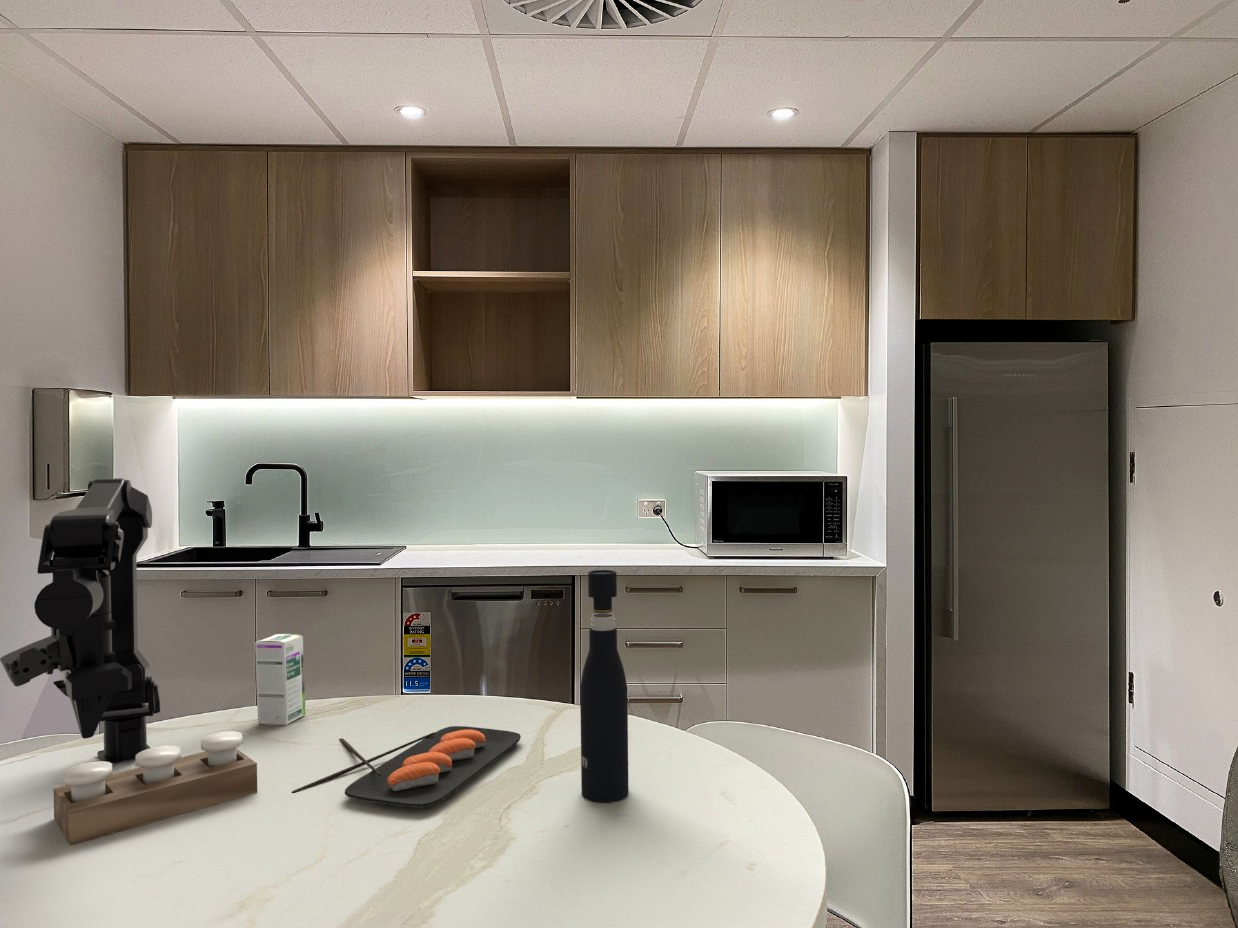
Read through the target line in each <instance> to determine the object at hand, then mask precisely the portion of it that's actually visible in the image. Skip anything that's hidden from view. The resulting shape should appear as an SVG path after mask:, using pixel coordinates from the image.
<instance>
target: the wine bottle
mask: <svg viewBox="0 0 1238 928" xmlns="http://www.w3.org/2000/svg"><path fill="white" fill-rule="evenodd" d="M617 577H618V576H617V571H616V570H611V569H610V570H609V569H597V570H590V571H588V572H587V579H588V580H587V583H588V585H587V586H588V587H587V591H588V593H587V594H588V597H589V598H593V599H592V601H593V602H592V603H593V608H592V612H593V613H592V614H591V618H590V621H591V623H590V626H591V628H589V630H588V636H589V637H588V638H589V645H588V646H589V648H588V649H589V650H588V653H587V655H586V659H585V660H584V661H585V662H584V665H583V669H582V672H581V673H582V674H581V680H580V684H579V685H580V687H579V692H580V693H579V696H580V700H579V701H580V702H579V703H580V705H579V706H580V707H579V708H580V711H579V712H580V767H581V768H580V773H581V774H580V775H581V776H580V778H581V783H580V785H581V796H582V797H583V798H584V799H586V800H588V801H590V802H593V803H602V804H606V803H613V802H614V803H615V802H618V801H621V800H624V799H625V798H627V796H628V795H629V792H630V791H629V723H628V720H629V717H628V712H629V711H628V705H629V704H628V683H627V678H626V674H625V673H626V672H625V669H624V665H623V662H622V659H621V656H620V653H619V651H618V630H617V628H616V627H615V626H616V622H615V621H616V618H615V614H613V613H611V612H613V601H612V600H613V599H612V598H616V597H617V595H618V593H617V591H618V590H617V588H618V585H617V581H618V579H617Z"/></svg>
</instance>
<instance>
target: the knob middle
mask: <svg viewBox="0 0 1238 928" xmlns="http://www.w3.org/2000/svg"><path fill="white" fill-rule="evenodd" d="M180 757H182V756H181V747H179V746H177V745H161V746H154V747H150V749H146V750H144V751H141V752H139V753H138V754H137V755H136V759H135V766H137V768H138V767H143V784H144V785H146V784H150V783H154V782H158V781H162V780H166V779H170V778H173V777H174V762H175V761H177V760H179V759H180Z"/></svg>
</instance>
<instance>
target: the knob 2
mask: <svg viewBox="0 0 1238 928" xmlns="http://www.w3.org/2000/svg"><path fill="white" fill-rule="evenodd" d="M242 744H243V734H242V732H239V731H221V732H215V733H212V734H209V735H205V736H204V737H203V738H201V740H200V749H201V751H202V752H205V751H208V767H209V768H213V767H217V766H221V765H225V764H229V763H232V762H236V761H237V759H236V749H237V748H238V747H239V746H241V745H242Z"/></svg>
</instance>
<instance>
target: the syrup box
mask: <svg viewBox="0 0 1238 928" xmlns="http://www.w3.org/2000/svg"><path fill="white" fill-rule="evenodd" d="M254 647H255V649H254V650H255V651H254V652H255V675H256V676H255V678H256V681H255V682H256V699H257V702H256V703H257V705H256V706H257V723H258V724H262V725H270V726H288V725H290V724H291V723H292V722H294V721H297V720H298V719H300V718H301V717H304V716H306V692H305V691H306V690H305V688H306V687H305V686H306V685H305V663H304V660H305V658H304V638H303V635H301V634H297V633H282V634H281V633H277V634H273V635H272V636H269V637H265V638H263V639H260V640H257V641H255V643H254Z"/></svg>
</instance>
